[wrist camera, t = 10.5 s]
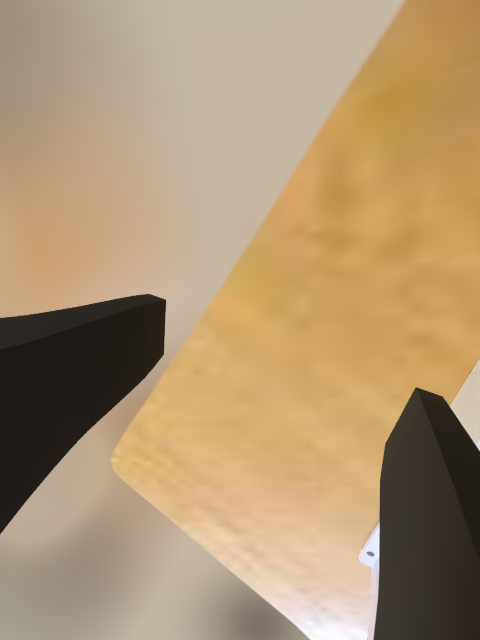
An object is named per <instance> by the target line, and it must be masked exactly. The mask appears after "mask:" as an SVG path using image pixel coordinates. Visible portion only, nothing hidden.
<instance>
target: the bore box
mask: <svg viewBox="0 0 480 640" xmlns="http://www.w3.org/2000/svg"><path fill="white" fill-rule="evenodd" d="M450 408H451V409H452V411H453V412H454V414H455V415H456V417H457V418H458V419H459V421H460V422H461V424H462V425H463V427H464V428H465V430H466V431H467V433H468V434H469V436H470V437H471V439H472V440H473V442H474V443H475V445H476V446H477V448H478V449H479V450H480V359H479V360H478V362H477V364H476V365H475V367H474V368H473V370H472V371H471V373H470V375H469V376H468V378H467V379H466V381H465V383H464V384H463V386H462V387H461V389H460V391H459V392H458V394H457V395H456V397H455V399H454V400H453V402H452V403H451V405H450Z"/></svg>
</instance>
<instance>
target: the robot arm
mask: <svg viewBox="0 0 480 640" xmlns="http://www.w3.org/2000/svg"><path fill="white" fill-rule="evenodd" d="M165 312H166V300H165V299H162V298H159V297H156V296H153V295H150V294H145V295H136V296H130V297H124V298H119V299H114V300H109V301H104V302H99V303H94V304H89V305H84V306H79V307H73V308H67V309H62V310H56V311H50V312H44V313H38V314H31V315H24V316H17V317H6V318H0V534H1V533H2V531H3V530H4V529H5V527H6V526H7V525H8V523H9V522H10V521H11V520H12V519H13V517H14V516H15V515H16V513H17V512H18V511H19V510H20V508H21V507H22V506H23V505H24V503H25V502H26V500H27V499H28V498H29V497H30V496H31V495H32V493H33V492H34V491H35V490H36V489H37V487H38V486H39V485H40V484H41V483H42V481H43V480H44V479H45V478H46V477H47V476H48V474H49V473H50V472H51V471H52V470H53V468H54V467H55V466H56V465H57V464H58V463H59V462H60V460H61V459H62V458H63V457H64V456H65V455H66V454H67V453H68V452H69V450H70V449H71V448H72V447H73V446H74V445H75V444H76V443H77V441H78V440H79V439H80V438H81V437H82V436H83V435H84V434H85V433H86V432H87V431H88V430H89V429H90V428H91V427H93V426H94V425H95V424H96V423H97V422H98V421H99V420H100V419H101V418H102V417H103V416H105V415H106V414H107V413H108V412H109V411H110V410H111V409H112V408H113V407H114V406H115V405H116V404H118V403H119V402H120V401H121V400H122V399H123V398H124V397H125V396H126V395H127V394H128V393H129V392H131V391H132V390H133V389H134V388H135V387H136V386H137V385H138V384H139V383H140V382H141V381H142V380H143V379H144V378H145V377H146V376H147V375H148V373H149V372H150V371H151V370H152V369H153V368H154V366H155V365H156V364H157V362H158V361H159V360H160V359H161V357H162V356H163V355H164V335H165ZM359 560H360V561H361V562H362V563H363V564H365V565H367V566H369V567H371V568H372V576H371V591H370V606H369V621H368V636H367V640H480V450H479V449H478V448H477V446H476V445H475V443H474V442H473V440H472V439H471V437H470V436H469V434H468V433H467V431H466V430H465V428H464V427H463V425H462V424H461V422H460V421H459V419H458V418H457V417H456V415H455V414H454V412H453V411H452V409H451V408H450V406H449V405H448V403H447V402H446V401H445V399H444V398H443V397H442V396H439V395H436V394H434V393H431V392H428V391H425V390H422V389H419V388H415V390H414V392H413V393H412V395H411V397H410V399H409V401H408V403H407V405H406V406H405V408H404V410H403V412H402V414H401V416H400V418H399V420H398V421H397V423H396V425H395V427H394V429H393V431H392V433H391V434H390V436H389V438H388V440H387V442H386V444H385V450H384V457H383V463H382V471H381V478H380V521H379V523H378V524H377V526H376V528H375V529H374V531H373V532H372V534H371V535H370V537H369V539H368V540H367V542H366V543H365V545H364V547H363V548H362V550H361V551H360V553H359Z"/></svg>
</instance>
